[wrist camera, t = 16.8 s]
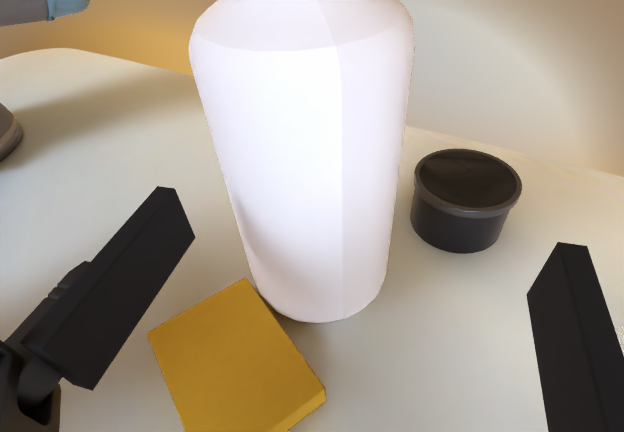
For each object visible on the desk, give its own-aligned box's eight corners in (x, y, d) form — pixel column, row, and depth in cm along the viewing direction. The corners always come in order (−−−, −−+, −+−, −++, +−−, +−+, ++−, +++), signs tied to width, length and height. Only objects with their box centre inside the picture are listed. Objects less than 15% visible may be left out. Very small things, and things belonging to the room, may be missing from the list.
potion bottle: (262, 228, 27) (189, -94, 14) (377, 223, 26) (405, -112, 14) (247, 333, 21) (98, -62, 8) (395, 329, 20) (474, -93, 8)
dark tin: (388, 216, 27) (393, 172, 24) (448, 181, 29) (459, 138, 26) (459, 272, 23) (475, 227, 20) (522, 227, 25) (544, 181, 22)
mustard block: (156, 345, 21) (146, 332, 20) (250, 291, 23) (245, 276, 22) (213, 488, 16) (204, 480, 15) (326, 401, 18) (325, 388, 17)
